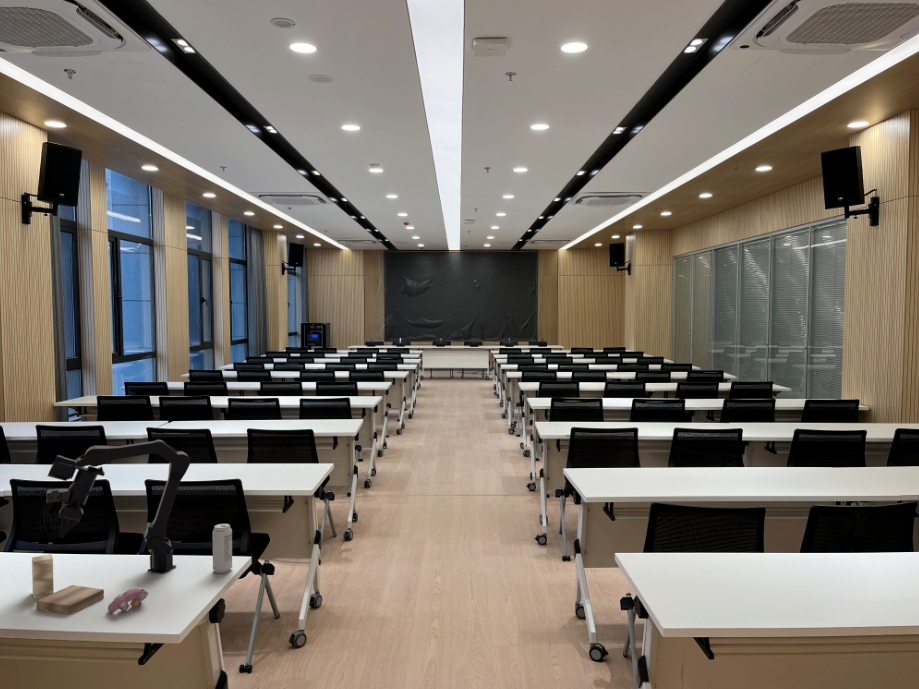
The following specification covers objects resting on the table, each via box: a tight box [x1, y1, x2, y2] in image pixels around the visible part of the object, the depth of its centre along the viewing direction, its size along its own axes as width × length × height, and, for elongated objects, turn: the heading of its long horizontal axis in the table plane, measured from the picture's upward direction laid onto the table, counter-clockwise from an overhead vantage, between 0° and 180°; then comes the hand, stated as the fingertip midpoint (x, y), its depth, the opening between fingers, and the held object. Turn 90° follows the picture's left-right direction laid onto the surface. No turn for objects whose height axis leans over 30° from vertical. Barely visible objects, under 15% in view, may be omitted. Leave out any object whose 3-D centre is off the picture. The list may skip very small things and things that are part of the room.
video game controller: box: [107, 586, 149, 614], centre depth 190 cm, size 10×5×7 cm, turn 148°
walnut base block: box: [36, 584, 105, 615], centre depth 194 cm, size 12×12×2 cm
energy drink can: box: [212, 523, 233, 574], centre depth 220 cm, size 6×6×15 cm
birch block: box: [31, 553, 55, 600], centre depth 201 cm, size 5×5×11 cm
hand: (61, 533), depth 207 cm, fingers open, 9 cm apart
